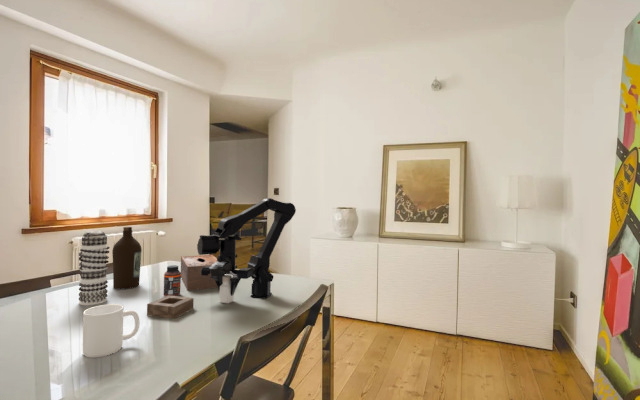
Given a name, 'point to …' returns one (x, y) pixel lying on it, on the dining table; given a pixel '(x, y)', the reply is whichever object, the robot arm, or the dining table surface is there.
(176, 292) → the supplement bottle
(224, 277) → the salt shaker
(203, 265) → the tissue box cover
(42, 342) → the dining table surface
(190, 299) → the socket block
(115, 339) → the cup
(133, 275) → the olive oil
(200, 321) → the dining table surface
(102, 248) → the decorative candle
